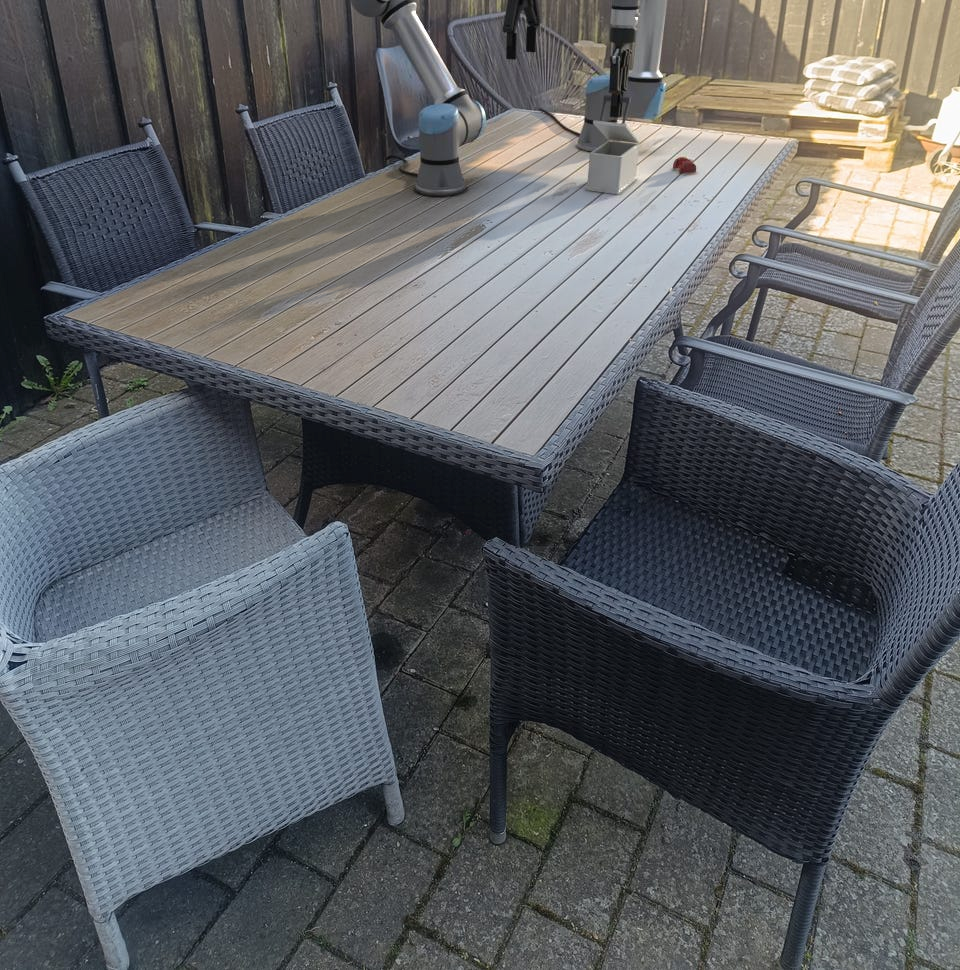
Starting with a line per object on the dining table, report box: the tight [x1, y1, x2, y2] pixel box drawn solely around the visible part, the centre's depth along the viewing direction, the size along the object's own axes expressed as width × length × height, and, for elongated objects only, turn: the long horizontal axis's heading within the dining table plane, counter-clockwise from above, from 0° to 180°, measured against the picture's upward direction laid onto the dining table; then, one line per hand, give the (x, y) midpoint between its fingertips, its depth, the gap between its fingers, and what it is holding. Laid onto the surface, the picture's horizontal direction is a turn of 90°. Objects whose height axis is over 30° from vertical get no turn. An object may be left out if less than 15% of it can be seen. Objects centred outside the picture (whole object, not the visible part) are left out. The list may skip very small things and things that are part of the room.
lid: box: [593, 95, 641, 145], centre depth 253 cm, size 18×10×9 cm, turn 155°
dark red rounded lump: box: [672, 156, 697, 174], centre depth 274 cm, size 6×4×8 cm
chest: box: [586, 140, 640, 195], centre depth 259 cm, size 17×10×11 cm, turn 154°
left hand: (521, 55), depth 239 cm, fingers open, 13 cm apart
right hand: (615, 116), depth 249 cm, fingers closed on lid, 2 cm apart
